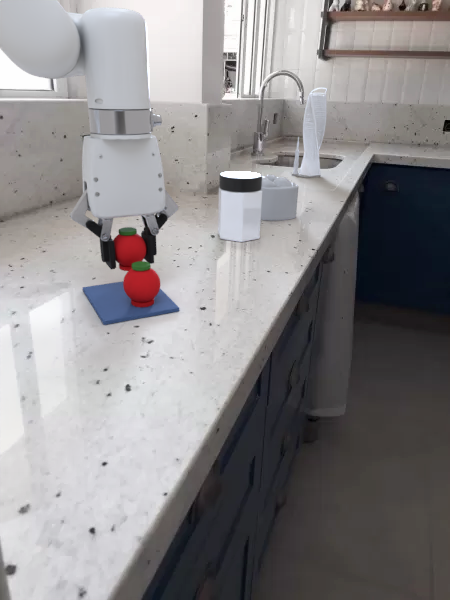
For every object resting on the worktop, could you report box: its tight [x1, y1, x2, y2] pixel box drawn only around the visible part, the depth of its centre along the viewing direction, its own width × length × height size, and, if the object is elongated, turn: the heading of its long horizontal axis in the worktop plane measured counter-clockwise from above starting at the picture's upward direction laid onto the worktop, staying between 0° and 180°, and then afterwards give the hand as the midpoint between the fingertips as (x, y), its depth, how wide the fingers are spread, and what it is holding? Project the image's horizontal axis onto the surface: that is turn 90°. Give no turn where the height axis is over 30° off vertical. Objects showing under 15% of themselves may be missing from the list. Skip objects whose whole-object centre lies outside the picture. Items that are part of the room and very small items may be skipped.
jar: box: [217, 170, 263, 243], centre depth 94 cm, size 9×8×12 cm
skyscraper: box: [291, 86, 328, 179], centre depth 161 cm, size 8×8×28 cm
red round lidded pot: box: [123, 260, 161, 307], centre depth 63 cm, size 5×5×5 cm
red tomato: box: [112, 226, 146, 272], centre depth 66 cm, size 5×5×5 cm
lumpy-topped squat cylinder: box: [261, 174, 299, 221], centre depth 111 cm, size 10×13×9 cm
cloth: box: [82, 280, 180, 326], centre depth 66 cm, size 10×12×1 cm
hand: (129, 262), depth 67 cm, fingers closed on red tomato, 4 cm apart
